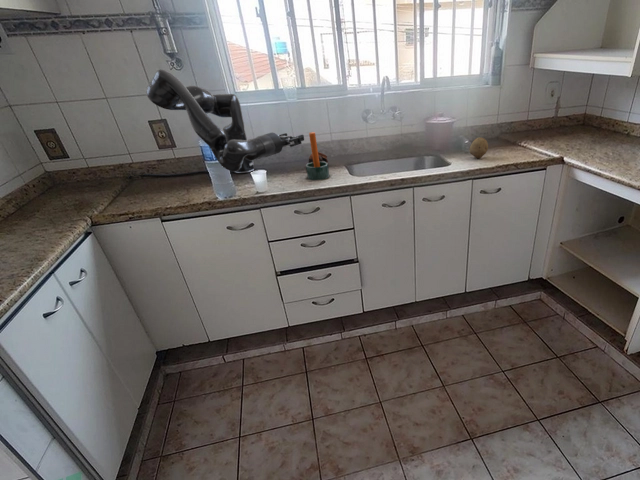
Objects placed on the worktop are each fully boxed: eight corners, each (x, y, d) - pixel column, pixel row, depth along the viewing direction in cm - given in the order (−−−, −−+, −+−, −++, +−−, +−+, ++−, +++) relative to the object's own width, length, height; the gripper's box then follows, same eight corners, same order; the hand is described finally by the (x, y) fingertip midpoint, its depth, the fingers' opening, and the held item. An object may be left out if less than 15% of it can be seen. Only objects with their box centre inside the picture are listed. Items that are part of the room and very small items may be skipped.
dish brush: (311, 176, 173) (304, 133, 163) (314, 173, 177) (308, 131, 167) (321, 176, 172) (315, 133, 162) (324, 173, 176) (319, 131, 166)
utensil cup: (304, 179, 172) (302, 167, 168) (311, 173, 180) (309, 161, 176) (325, 180, 170) (324, 167, 167) (332, 173, 178) (330, 161, 175)
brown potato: (488, 160, 189) (490, 139, 183) (470, 161, 189) (472, 139, 184) (485, 156, 197) (487, 135, 191) (468, 156, 197) (469, 135, 191)
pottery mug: (304, 167, 191) (309, 150, 190) (323, 173, 195) (327, 157, 194) (309, 166, 180) (314, 148, 179) (328, 173, 185) (333, 156, 183)
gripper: (255, 154, 149) (283, 144, 161) (283, 157, 144) (310, 147, 155) (250, 133, 145) (279, 125, 157) (279, 136, 139) (307, 127, 151)
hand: (295, 136), depth 156 cm, fingers open, 8 cm apart
